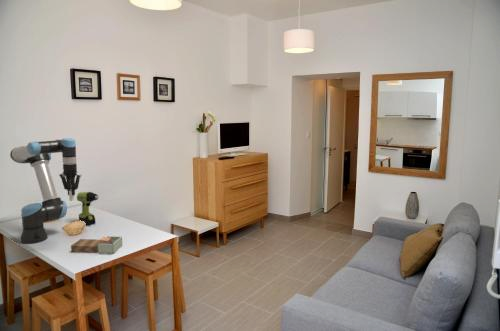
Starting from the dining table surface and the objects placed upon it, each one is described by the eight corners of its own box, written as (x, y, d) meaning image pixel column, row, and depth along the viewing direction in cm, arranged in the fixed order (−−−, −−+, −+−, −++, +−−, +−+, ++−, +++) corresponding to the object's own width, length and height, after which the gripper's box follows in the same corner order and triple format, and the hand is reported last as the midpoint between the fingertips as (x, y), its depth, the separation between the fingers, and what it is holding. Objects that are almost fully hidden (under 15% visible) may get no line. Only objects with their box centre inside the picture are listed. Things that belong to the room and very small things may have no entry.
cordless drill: (104, 226, 262) (102, 193, 258) (95, 228, 257) (93, 195, 253) (85, 220, 275) (83, 188, 271) (77, 223, 269) (75, 190, 265)
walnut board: (71, 252, 216) (71, 245, 215) (80, 245, 227) (80, 239, 226) (98, 252, 215) (98, 246, 214) (107, 245, 226) (106, 239, 225)
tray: (98, 253, 214) (97, 244, 213) (108, 245, 227) (107, 236, 226) (113, 253, 214) (113, 244, 213) (122, 245, 227) (121, 236, 226)
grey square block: (111, 241, 217) (115, 245, 217) (115, 238, 222) (118, 242, 222) (105, 246, 217) (109, 250, 218) (109, 243, 222) (112, 247, 223)
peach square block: (99, 244, 217) (99, 239, 217) (103, 241, 222) (103, 236, 222) (107, 245, 217) (107, 240, 217) (111, 242, 222) (111, 237, 222)
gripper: (55, 164, 217) (58, 201, 221) (76, 164, 216) (78, 202, 220) (62, 161, 224) (64, 198, 228) (83, 162, 223) (84, 199, 228)
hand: (71, 200), depth 224 cm, fingers closed
